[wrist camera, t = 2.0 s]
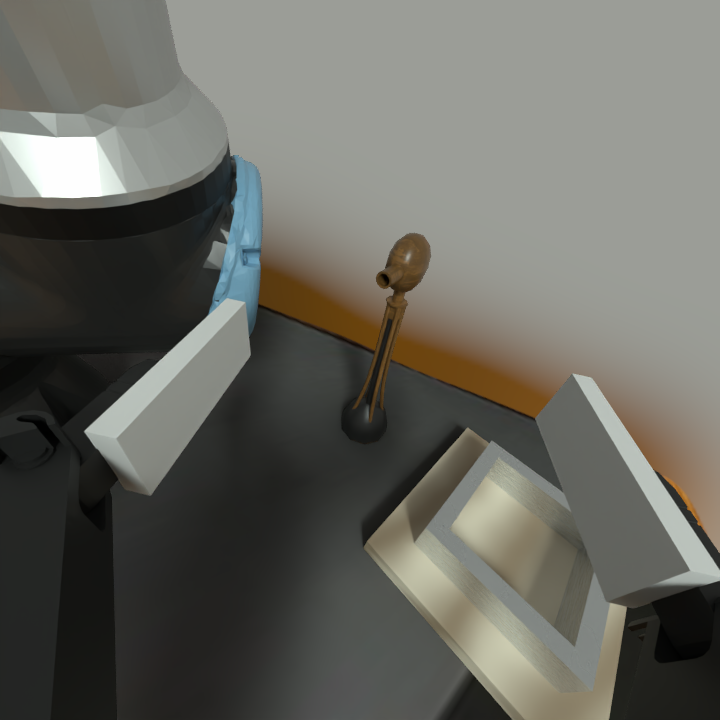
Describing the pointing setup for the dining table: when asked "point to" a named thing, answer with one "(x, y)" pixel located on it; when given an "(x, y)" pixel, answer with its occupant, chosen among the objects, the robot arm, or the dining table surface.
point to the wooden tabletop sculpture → (387, 336)
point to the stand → (514, 565)
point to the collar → (502, 603)
